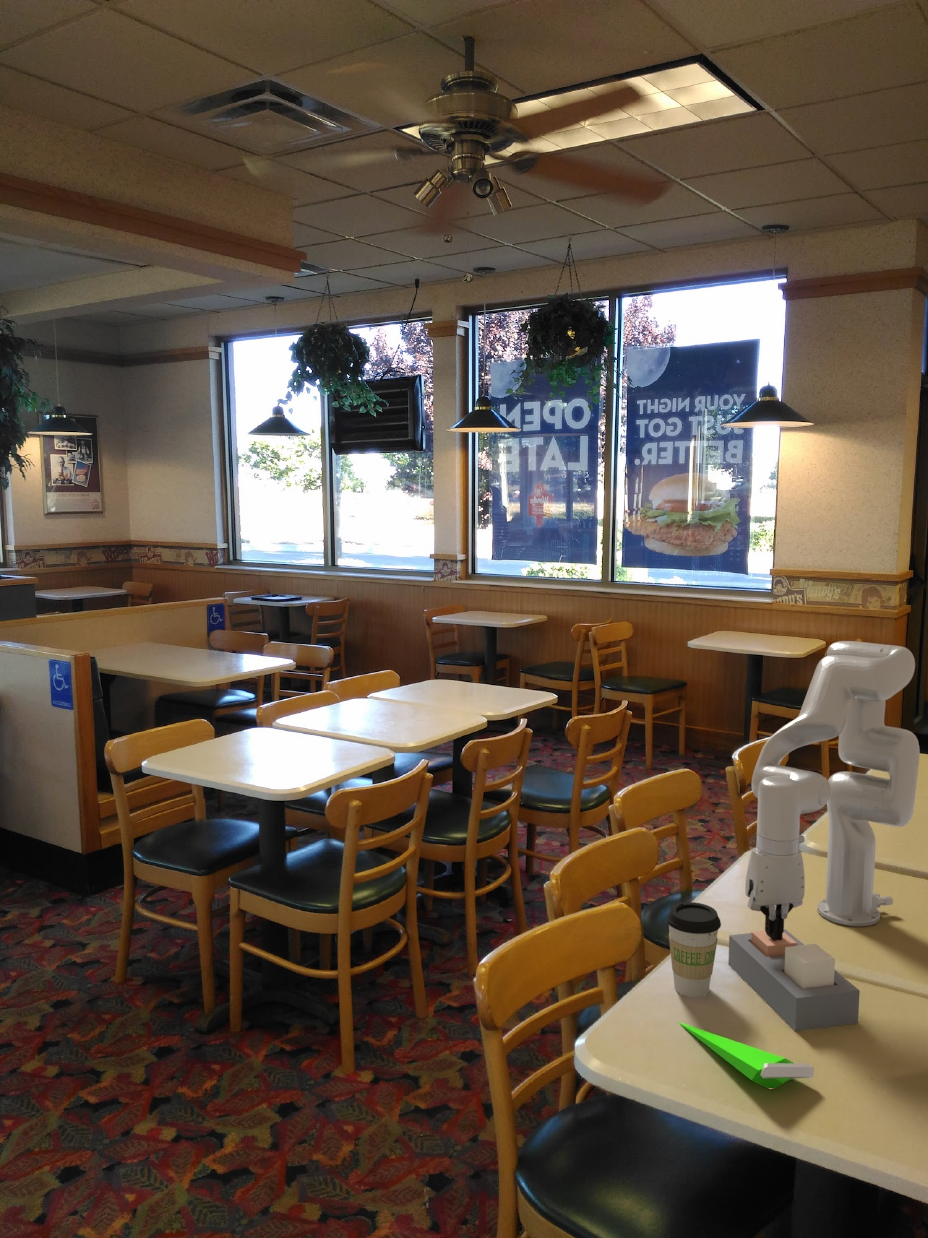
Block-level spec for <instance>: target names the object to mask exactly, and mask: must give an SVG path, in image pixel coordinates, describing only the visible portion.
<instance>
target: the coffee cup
mask: <svg viewBox="0 0 928 1238" xmlns="http://www.w3.org/2000/svg"><path fill="white" fill-rule="evenodd" d="M665 921H666V923H667V924H668V931H669V933H668V941H669V949H670V950H669V951H670V962H671V969H672V973H673V985H674V990H675V991H676V993H678V994H680V995H682V996H685V997H687V998H702V997H705V996H706V995H708V994H709V991H710V985H711V979H712V978H711V977H712V975H713V972H714V971H713V970H714V965H715V958H716V951H717V945H718V933H719V929H721V926H722V923H721V918H720V917H719V915H718V911H717V910H716V909H715V908H713V907H712V906H710V905H709V904H704V903H700V902H695V901H693V902H692V901H685V902H684V901H683V902H678V903H675V904H673V905H672V906H671V907H670V909H669V911H668V913H667V914H666V918H665Z"/></svg>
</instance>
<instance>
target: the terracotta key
mask: <svg viewBox="0 0 928 1238" xmlns="http://www.w3.org/2000/svg"><path fill="white" fill-rule="evenodd" d="M750 933H751V943H752V944H753V945H754V946H755V947H756V948H757V949H758V950H759V951H760V952H761V953H762V954H764V955H765V956H766V957H770V956H778V955H785V947H791V946H797V943H796V942H795V941H794V940H793V939H792V938H790V937H789V936H788V935H787V934H786V933H784V932H783V935H782V940H779V939H777V940H773V939H772V938H770V937H769V936H768V935H767V934H766V932H765V930H758V931H757V930H755V931H751V932H750Z"/></svg>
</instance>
